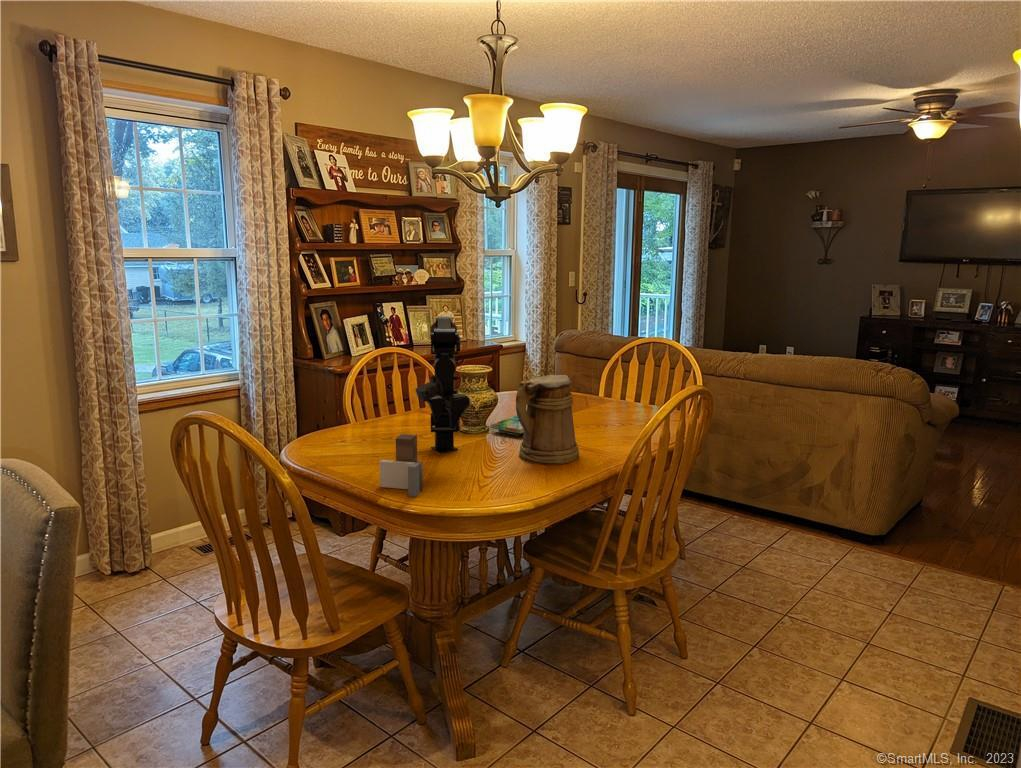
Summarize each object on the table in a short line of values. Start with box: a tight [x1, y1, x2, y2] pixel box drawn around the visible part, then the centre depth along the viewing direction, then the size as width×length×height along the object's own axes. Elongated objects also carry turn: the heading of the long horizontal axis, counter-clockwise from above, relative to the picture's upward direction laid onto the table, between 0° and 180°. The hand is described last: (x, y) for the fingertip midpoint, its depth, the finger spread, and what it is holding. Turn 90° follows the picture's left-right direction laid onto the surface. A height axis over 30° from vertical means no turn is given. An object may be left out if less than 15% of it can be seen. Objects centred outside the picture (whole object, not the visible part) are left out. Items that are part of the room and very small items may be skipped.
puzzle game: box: [490, 414, 524, 438], centre depth 247 cm, size 12×5×20 cm
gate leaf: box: [379, 459, 424, 491], centre depth 186 cm, size 12×2×7 cm, turn 78°
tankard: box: [515, 374, 580, 466], centre depth 213 cm, size 18×24×25 cm
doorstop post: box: [395, 433, 418, 462], centre depth 190 cm, size 4×4×13 cm
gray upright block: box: [407, 463, 421, 498], centre depth 181 cm, size 3×2×8 cm, turn 167°
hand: (444, 425), depth 205 cm, fingers open, 9 cm apart
